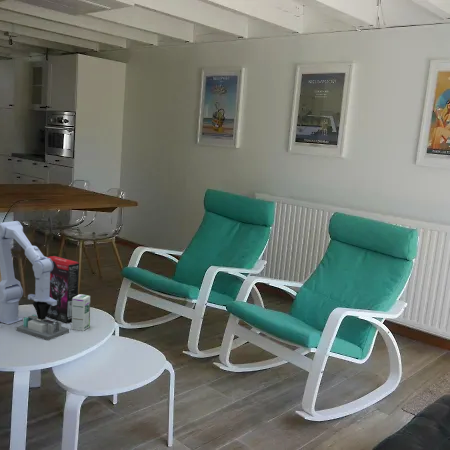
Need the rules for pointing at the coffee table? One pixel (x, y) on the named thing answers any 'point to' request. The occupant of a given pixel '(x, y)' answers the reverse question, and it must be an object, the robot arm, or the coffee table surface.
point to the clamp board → (44, 334)
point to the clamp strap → (42, 320)
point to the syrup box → (81, 312)
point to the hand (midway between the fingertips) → (41, 318)
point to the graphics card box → (63, 287)
